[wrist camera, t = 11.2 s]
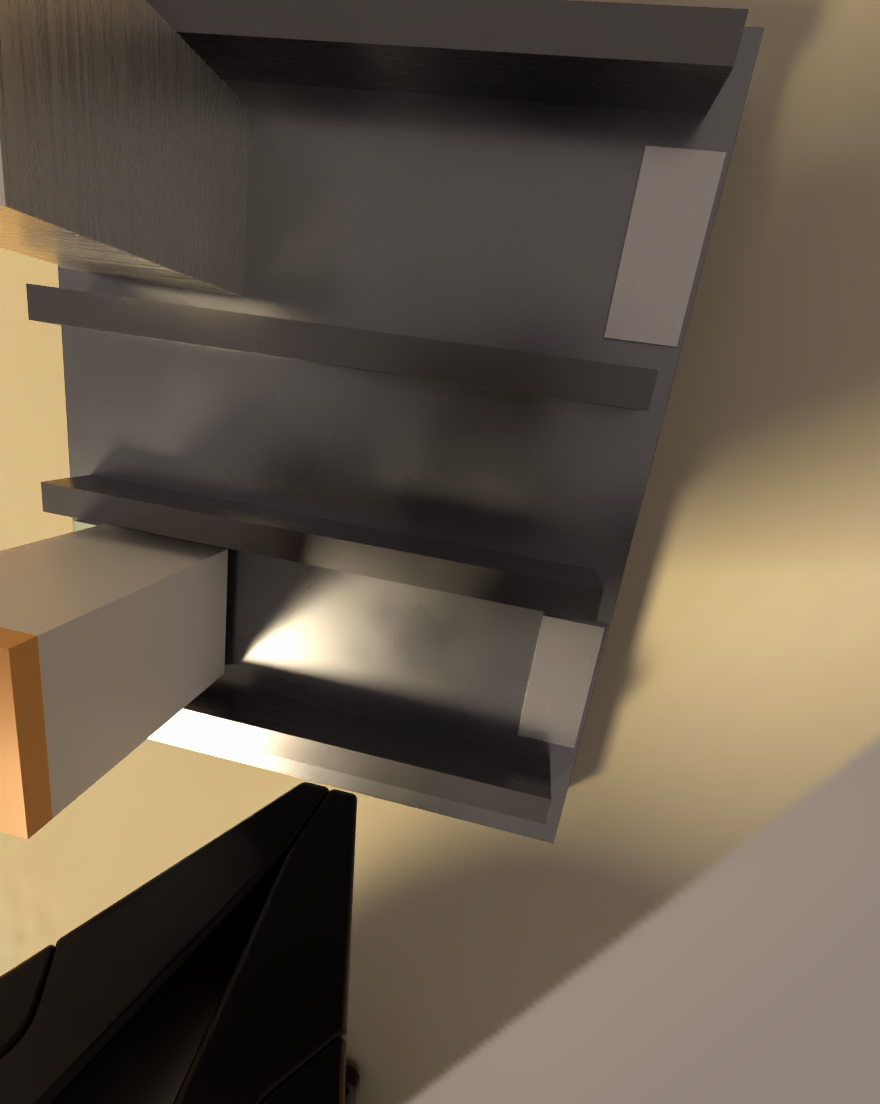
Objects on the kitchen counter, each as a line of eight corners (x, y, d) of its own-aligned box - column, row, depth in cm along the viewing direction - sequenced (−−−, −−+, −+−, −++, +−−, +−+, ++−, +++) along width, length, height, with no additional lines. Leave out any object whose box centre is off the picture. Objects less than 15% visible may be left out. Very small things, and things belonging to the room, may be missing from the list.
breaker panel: (551, 796, 13) (562, 1103, 7) (128, 692, 15) (-139, 877, 9) (728, 87, 9) (1080, -504, 3) (108, 45, 11) (-424, -403, 5)
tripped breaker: (224, 673, 12) (27, 839, 7) (107, 646, 12) (-148, 787, 8) (228, 549, 11) (8, 648, 7) (103, 524, 12) (-189, 601, 7)
